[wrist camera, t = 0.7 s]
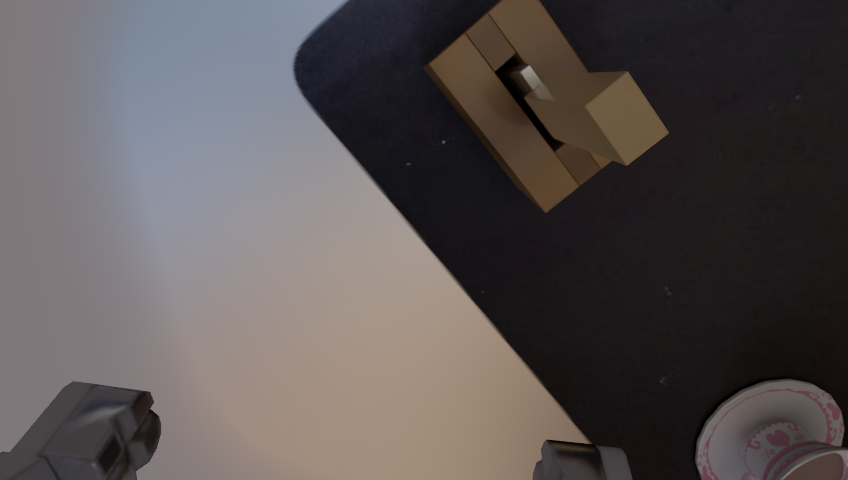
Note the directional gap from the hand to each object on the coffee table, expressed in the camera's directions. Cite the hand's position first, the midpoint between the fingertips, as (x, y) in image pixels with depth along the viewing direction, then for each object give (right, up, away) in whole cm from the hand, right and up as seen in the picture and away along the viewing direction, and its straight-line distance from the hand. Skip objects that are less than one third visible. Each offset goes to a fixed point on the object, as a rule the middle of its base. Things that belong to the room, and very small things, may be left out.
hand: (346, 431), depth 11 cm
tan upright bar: (+7, +13, +22) cm, 27 cm away
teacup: (+29, -12, +31) cm, 45 cm away
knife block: (+7, +13, +22) cm, 27 cm away
